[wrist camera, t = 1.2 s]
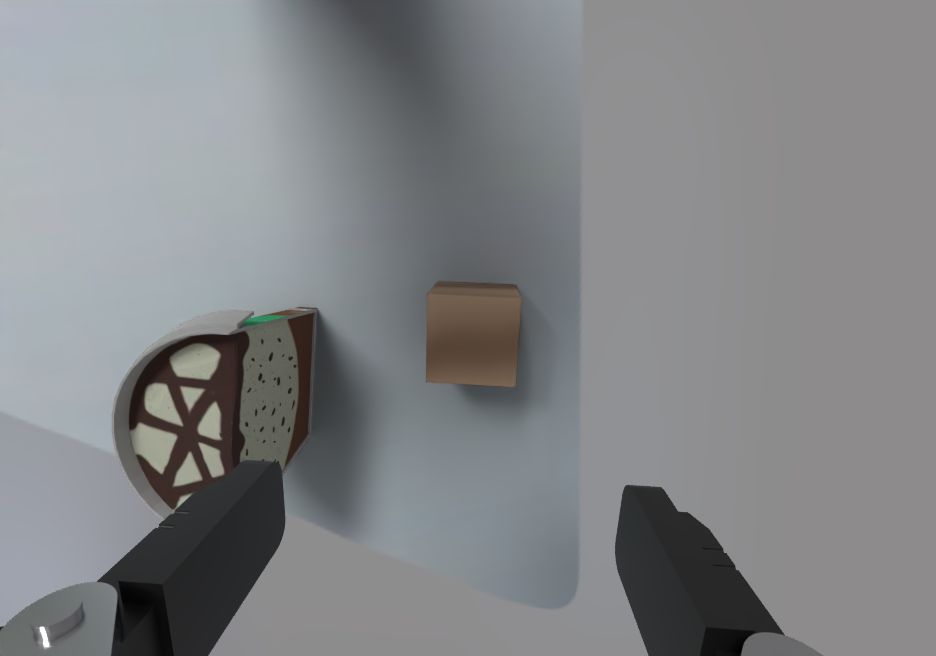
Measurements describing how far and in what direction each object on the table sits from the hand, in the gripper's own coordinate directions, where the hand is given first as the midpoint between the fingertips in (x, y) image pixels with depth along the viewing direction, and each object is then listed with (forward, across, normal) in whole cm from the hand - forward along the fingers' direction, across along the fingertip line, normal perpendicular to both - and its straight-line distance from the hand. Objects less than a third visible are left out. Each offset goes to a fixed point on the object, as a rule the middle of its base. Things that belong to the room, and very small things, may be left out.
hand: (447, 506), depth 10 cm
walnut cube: (+19, 0, 0) cm, 19 cm away
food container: (+19, +14, +4) cm, 24 cm away
